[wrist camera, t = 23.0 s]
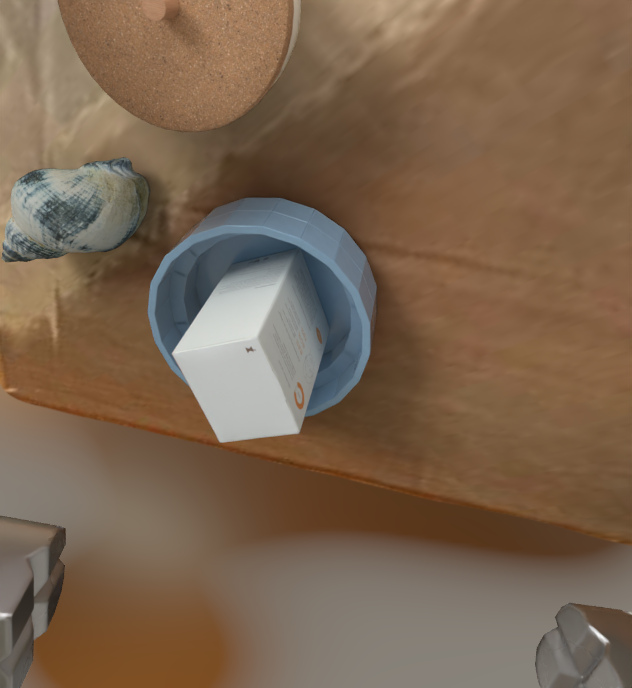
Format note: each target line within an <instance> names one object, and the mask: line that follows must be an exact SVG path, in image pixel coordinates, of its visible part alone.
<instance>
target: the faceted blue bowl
mask: <svg viewBox="0 0 632 688" xmlns="http://www.w3.org/2000/svg"><path fill="white" fill-rule="evenodd" d="M297 248H300V249H301V251H302V254H303V256H304V259H305V262H306V264H307V267H308V270H309V272H310V275H311V278H312V281H313V283H314V286H315V289H316V292H317V294H318V297H319V300H320V303H321V306H322V308H323V311H324V314H325V317H326V320H327V322H328V325H329V328H330V332H329V335H328V338H327V342H326V345H325V349H324V352H323V355H322V359H321V362H320V366H319V369H318V372H317V376H316V379H315V383H314V386H313V389H312V393H311V396H310V400H309V403H308V406H307V410H306V413H305V416H304V417H307V416H312V415H315V414H317V413H319V412H321V411H323V410H325V409H327V408H329V407H331V406H333V405H335V404H337V403H339V402H340V401H341V400H342V399H343V398H344V397H345V396H346V395H347V394H348V393H349V392H350V391H351V389H352V388H353V387H354V386H355V385H356V384H357V383H358V382H359V381H360V378H361V376H362V374H363V371H364V369H365V366H366V364H367V361H368V359H369V356H370V353H371V347H372V341H373V335H374V329H375V323H376V317H377V286H376V283H375V280H374V277H373V274H372V272H371V269H370V266H369V263H368V260H367V257H366V256H365V255H364V253H363V252H362V251H361V249H360V248H359V247H358V246H357V244H356V243H355V242H354V240H353V239H352V238H351V237H350V235H349V234H348V233H347V232H346V230H344V229H343V228H342V227H340V226H339V225H337V224H336V223H335V222H333V221H332V220H330V219H329V218H327V217H326V216H325V215H323V214H322V213H320V212H319V211H317V210H315V209H314V208H310V207H307V206H304V205H301V204H298V203H295V202H292V201H289V200H286V199H283V198H243V199H240V200H238V201H235V202H232V203H229V204H226V205H223V206H220V207H217V208H215V209H214V210H212V211H211V212H210V213H209V214H208V215H206V216H205V217H204V218H203V219H202V220H200V221H199V222H198V223H197V224H195V225H194V226H193V227H192V228H191V229H190V230H189V231H188V232H187V233H186V234H185V236H184V237H183V238H182V239H181V240H180V241H179V242H178V243H177V244H176V245H175V246H174V247H173V248H172V249H171V250H170V251H169V252H168V254H167V255H166V256H165V257H164V259H163V260H162V262H161V264H160V266H159V268H158V270H157V272H156V274H155V276H154V277H153V279H152V281H151V284H150V294H149V304H148V317H149V320H150V324H151V328H152V332H153V336H154V340H155V342H156V345H157V346H158V348H159V350H160V351H161V353H162V355H163V356H164V358H165V360H166V361H167V363H168V365H169V366H170V368H171V369H172V370H173V371H174V372H175V373H176V374H177V375H178V376H179V377H180V378H181V379H182V380H183V381H184V382H185V383H186V384H187V385H188V383H187V381H186V379H185V377H184V376H183V374H182V372H181V370H180V368H179V366H178V365H177V363H176V361H175V359H174V357H173V356H172V352H173V351H174V349H175V348H176V346H177V345H178V343H179V342H180V340H181V339H182V337H183V336H184V334H185V333H186V331H187V330H188V328H189V327H190V325H191V324H192V322H193V321H194V319H195V318H196V316H197V315H198V313H199V312H200V310H201V309H202V307H203V306H204V304H205V303H206V301H207V300H208V298H209V297H210V295H211V294H212V292H213V291H214V289H215V288H216V286H217V285H218V283H219V282H220V281H221V279H222V277H223V276H224V274H225V273H226V272H227V270H228V268H229V267H230V266H231V265H232V264H235V263H240V262H244V261H248V260H252V259H256V258H260V257H264V256H268V255H273V254H277V253H281V252H285V251H289V250H293V249H297ZM188 386H189V385H188Z"/></svg>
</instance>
